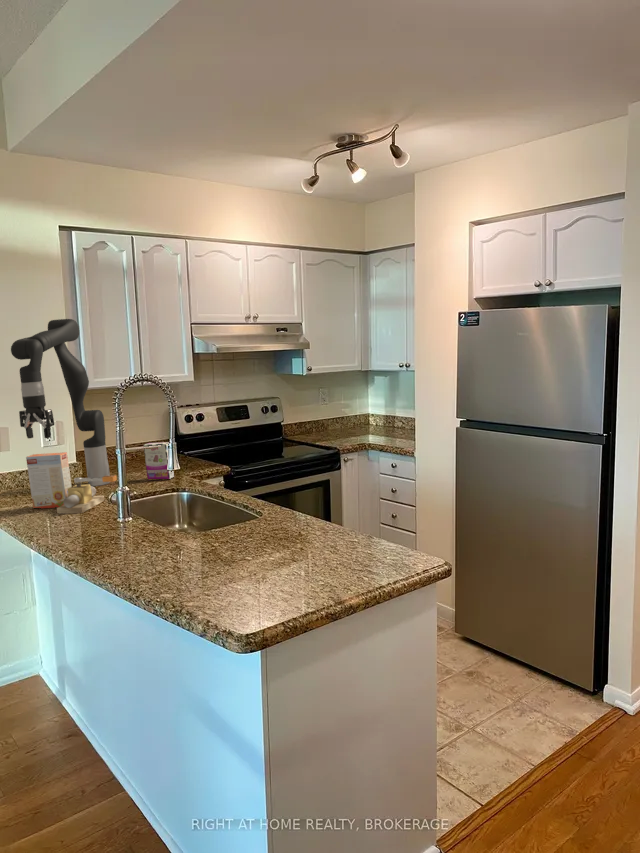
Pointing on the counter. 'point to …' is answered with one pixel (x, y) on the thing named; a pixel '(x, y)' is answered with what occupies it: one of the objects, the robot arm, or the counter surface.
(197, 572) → the counter surface
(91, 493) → the valve on pipe
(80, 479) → the valve lever
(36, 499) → the cracker box
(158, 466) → the candy bar box
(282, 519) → the counter surface
